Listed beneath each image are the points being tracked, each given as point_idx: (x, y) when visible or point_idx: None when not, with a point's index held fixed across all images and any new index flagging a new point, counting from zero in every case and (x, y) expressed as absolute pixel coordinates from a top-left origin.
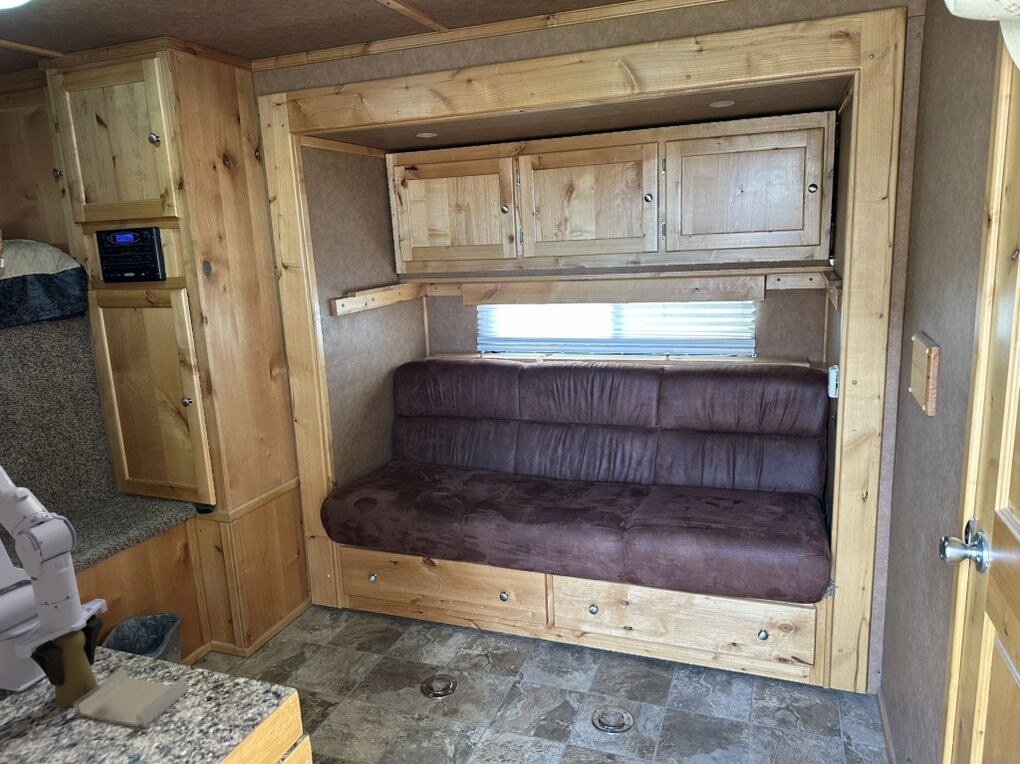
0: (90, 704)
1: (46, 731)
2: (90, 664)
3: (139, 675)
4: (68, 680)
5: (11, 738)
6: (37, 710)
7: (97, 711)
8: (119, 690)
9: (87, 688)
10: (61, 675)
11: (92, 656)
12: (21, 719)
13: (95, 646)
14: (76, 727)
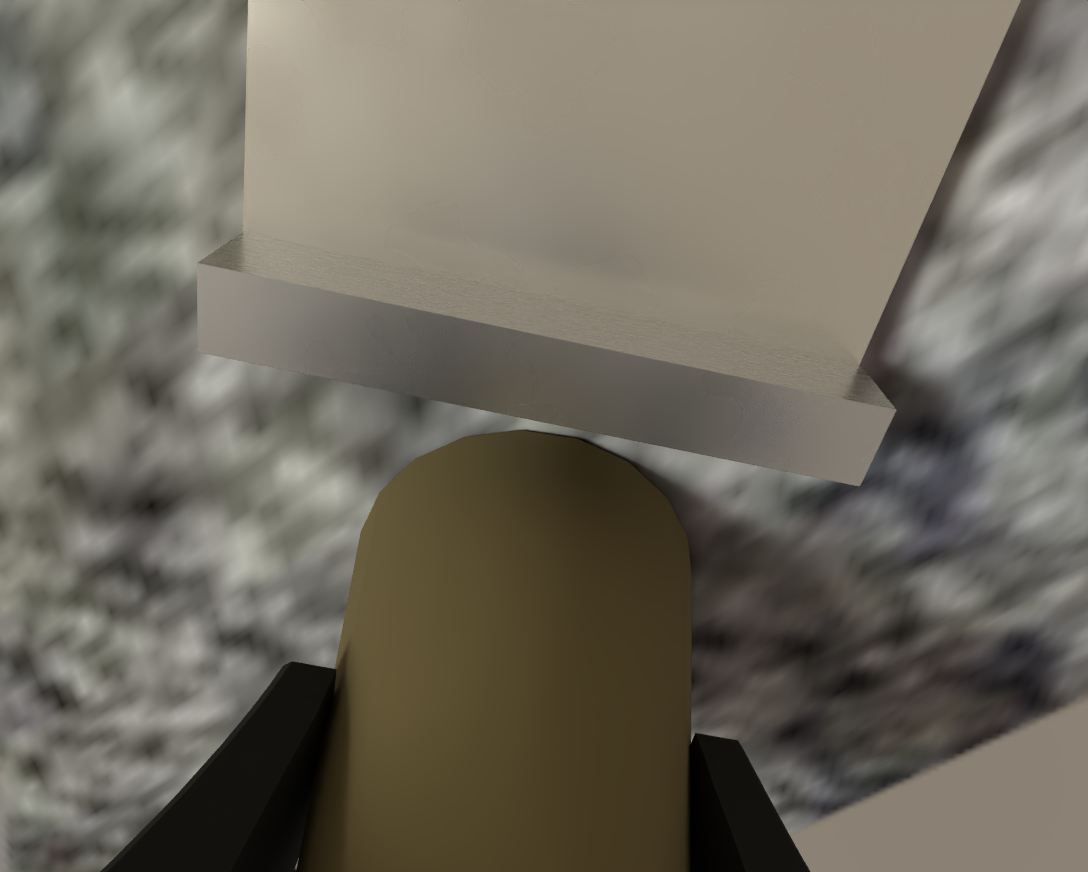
0: (743, 343)
1: (1029, 514)
2: (331, 683)
3: (131, 160)
4: (677, 722)
5: (1050, 700)
6: (716, 728)
7: (869, 184)
8: (470, 181)
9: (566, 507)
10: (758, 840)
11: (274, 742)
12: (816, 762)
13: (151, 838)
14: (1043, 277)
